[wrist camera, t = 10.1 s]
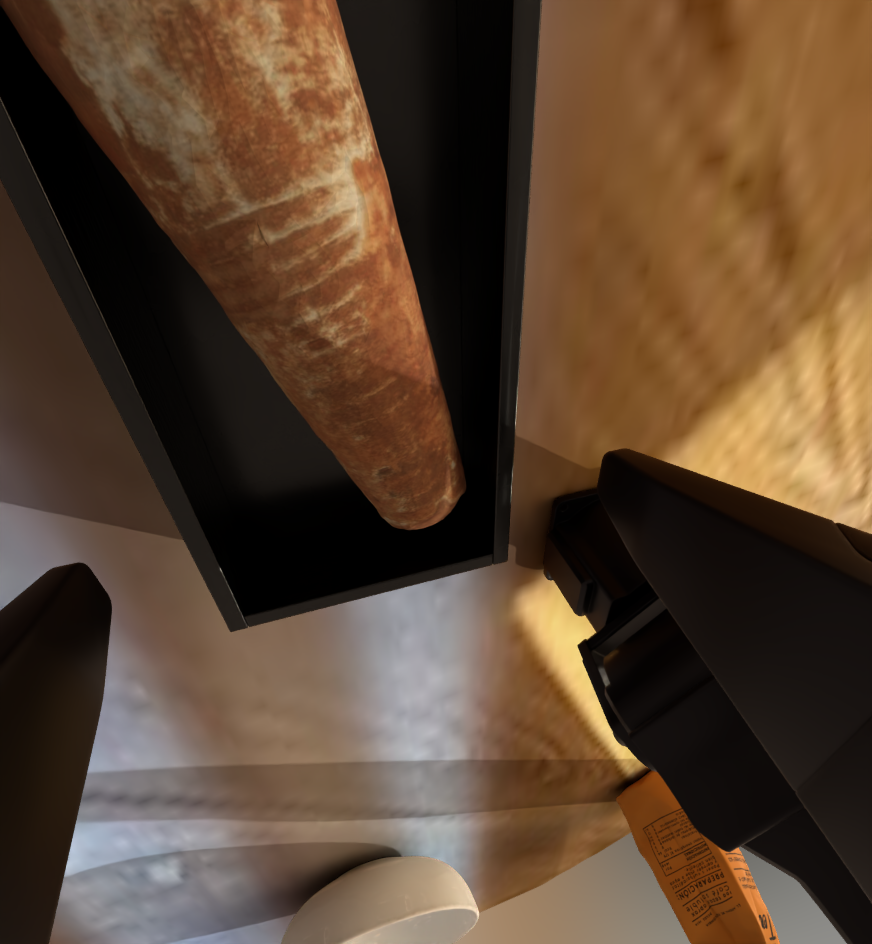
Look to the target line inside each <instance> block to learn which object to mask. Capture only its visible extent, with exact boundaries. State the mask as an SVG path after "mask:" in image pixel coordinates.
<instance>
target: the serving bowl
mask: <svg viewBox="0 0 872 944" xmlns="http://www.w3.org/2000/svg"><path fill="white" fill-rule="evenodd" d="M478 918H479V911H478V908H477V906H476V903H475V901H474V898H473V896H472V894H471V892H470V890H469V888H468V886H467V884H466V883H465V881H464V880H463V878H462V877H461V876H460V875H459V874H458V873H457V872H456V871H455V870H454V869H453V868H452V867H450V866H449V865H448V864H446V863H444V862H442V861H440V860H437V859H434V858H430V857H423V856H407V857H387V858H381V859H377V860H374V861H370V862H367V863H365V864H362V865H360V866H357V867H355V868H353V869H351V870H349V871H348V872H346V873H344V874H343V875H341V876H340V877H338V878H337V879H336V880H334V881H333V882H331V883H329V884H328V885H327V886H325V887H324V888H322V889H321V890H319V891H318V892H317V893H316V894H314V895H313V896H312V897H311V898H310V899H309V900H308V901H307V902H306V903H305V904H304V905H303V906H302V907H301V908H300V910H299V911H298V912H297V913H296V915H295V916H294V918H293V919H292V921H291V923H290V924H289V926H288V928H287V930H286V932H285V934H284V937H283V939H282V942H281V944H454V943H455V942H456V941H458V940H459V939H460V938H462V937H463V936H464V935H465V934H466V933H468V932H469V931H470V930H471V929H472V928H473V927H474V925H475V924H476V922H477V920H478Z"/></svg>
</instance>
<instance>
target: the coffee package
mask: <svg viewBox="0 0 872 944" xmlns="http://www.w3.org/2000/svg"><path fill="white" fill-rule="evenodd" d="M616 800H617V802H618V804H619V805H620V807H621V809H622V811H623V813H624V815H625V817H626V819H627V821H628V824H629V827H630V829H631V832H632V835H633V838H634V840H635V843H636V845H637V847H638V850H639V852H640V853H641V855H642V856H643V857H644V858H645V860H646V861H647V863H648V864H649V866H650V867H651V869H652V871H653V873H654V875H655V877H656V879H657V881H658V883H659V885H660V887H661V889H662V891H663V892H664V894H665V896H666V898H667V899H668V901H669V903H670V905H671V907H672V909H673V911H674V913H675V914H676V916H677V918H678V920H679V922H680V924H681V926H682V928H683V929H684V932H685V933H686V935H687V937H688V939H689V941H690V943H691V944H780V942H779V939H778V936H777V933H776V930H775V927H774V925H773V922H772V920H771V917H770V915H769V913H768V910H767V907H766V906H765V904H764V902H763V901H762V899H761V896H760V894H759V892H758V889H757V887H756V885H755V883H754V881H753V878H752V876H751V873H750V871H749V868H748V866H747V864H746V862H745V860H744V857H743V855H742V853H741V851H740V850H739V848H737V849H735V850H733V851H732V852H726V851H724V850H722V849H721V848H719V847H718V846H717V845H715V844H714V843H713V842H711V841H710V840H709V839H707V838H706V837H705V836H703V835H702V834H701V833H699V832H698V831H697V830H696V829H695V828H694V826H693V825H692V823H691V822H690V820H689V819H688V817H687V815H686V814H685V812H684V811H683V809H682V808H681V806H680V805H679V803H678V801H677V800H676V798H675V797H674V795H673V794H672V792H671V791H670V789H669V788H668V786H667V785H666V783H665V782H664V780H663V779H662V778H661V776H660V775H659V774H658V772H655V771H652V770H651V771H650V772H649V773H647V774H646V775H645V776H644V777H642V778H641V779H640V780H638V781H637V782H635V783H634V784H632V785H630V786H629V787H627V788H626V789H625V790H624V791H623V793H622V794H621V795H619V796H618V797H616Z"/></svg>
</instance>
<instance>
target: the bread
mask: <svg viewBox="0 0 872 944" xmlns="http://www.w3.org/2000/svg"><path fill="white" fill-rule="evenodd" d="M0 6H1V7H2V9H3V10H4V11H5V13H6V14H7V16H8V17H9V19H10V20H11V22H12V23H13V25H14V26H15V28H16V30H17V31H18V33H19V35H20V36H21V38H22V40H23V41H24V43H25V45H26V46H27V48H28V49H29V51H30V52H31V54H32V55H33V56H34V58H35V59H36V61H37V62H38V64H39V65H40V67H41V68H42V69H43V71H44V72H45V73H46V75H47V76H48V77H49V78H50V80H51V81H52V82H53V84H54V85H55V86H56V88H57V89H58V90H59V92H60V93H61V94H62V96H63V97H64V98H65V100H66V101H67V102H68V104H69V105H70V106H71V108H72V109H73V110H74V112H75V114H76V116H77V118H78V119H79V120H80V122H81V123H82V124H83V126H84V127H85V128H86V130H87V131H88V132H89V134H90V135H91V136H92V138H93V139H94V140H95V142H96V143H97V144H98V146H99V147H100V148H101V149H102V150H103V152H104V153H105V154H106V155H107V157H108V158H109V159H110V160H111V162H112V163H113V164H114V165H115V167H116V168H117V169H118V170H119V172H120V173H121V174H122V176H123V177H124V178H125V179H126V181H127V182H128V183H129V185H130V186H131V187H132V189H133V190H134V192H135V193H136V194H137V196H138V197H139V199H140V200H141V201H142V203H143V204H144V205H145V207H146V208H147V209H148V211H149V212H150V213H151V215H152V217H153V218H154V220H155V221H156V223H157V224H158V225H159V226H160V228H161V229H162V230H163V231H164V232H165V233H166V234H167V235H168V236H169V237H170V238H171V240H172V242H173V244H174V245H175V246H176V247H177V249H178V250H179V251H180V252H181V253H182V255H183V256H184V257H185V259H186V260H187V261H188V262H189V264H190V265H191V266H192V267H193V268H194V269H195V270H196V271H197V273H198V274H199V275H200V277H201V278H202V279H203V281H204V282H205V284H206V285H207V286H208V288H209V289H210V291H211V292H212V293H213V295H214V296H215V298H216V299H217V300H218V302H219V303H220V305H221V306H222V308H223V310H224V311H225V313H226V314H227V316H228V318H229V319H230V321H231V322H232V324H233V325H234V326H235V328H236V329H237V330H238V332H239V333H240V334H241V336H242V337H243V338H244V339H245V341H246V342H247V343H248V344H249V346H250V347H251V348H252V349H253V350H254V351H255V353H256V354H257V355H258V357H259V358H260V359H261V361H262V362H263V363H264V364H265V366H266V367H267V368H268V370H269V372H270V373H271V375H272V377H273V378H274V380H275V381H276V382H277V384H278V385H279V386H280V388H281V389H282V391H283V392H284V393H285V395H286V396H287V397H288V398H289V400H290V401H291V402H292V403H293V405H294V406H295V407H296V408H297V410H298V411H299V412H300V414H301V415H302V416H303V417H304V419H305V420H306V421H307V423H308V424H309V425H310V427H311V428H312V430H313V431H314V432H315V434H316V435H317V436H318V437H319V438H320V439H321V440H322V441H323V442H324V443H325V445H326V446H327V447H328V448H329V449H330V450H331V451H332V453H333V454H334V455H335V457H336V458H337V460H338V461H339V463H340V464H341V465H342V466H343V468H344V469H345V471H346V472H347V473H348V475H349V476H350V477H351V479H352V480H353V481H354V482H355V484H356V485H357V486H358V487H359V488H360V489H361V491H362V492H363V493H364V495H365V496H366V497H367V498H368V500H369V501H370V502H371V503H372V504H373V505H374V506H375V508H376V509H377V511H378V513H379V514H380V516H381V517H382V518H383V519H385V520H386V521H387V522H388V523H389V524H390V525H391V526H393V527H395V528H399V529H406V530H416V529H422V528H426V527H429V526H432V525H434V524H436V523H437V522H439V521H441V520H442V519H444V518H445V517H446V516H447V515H448V514H449V513H450V512H451V511H452V509H453V508H454V507H455V506H456V504H457V501H458V500H459V498H460V497H461V495H462V494H464V493H465V491H466V487H467V485H466V480H465V474H464V467H463V464H462V460H461V457H460V453H459V449H458V446H457V442H456V438H455V435H454V431H453V427H452V422H451V416H450V412H449V409H448V405H447V402H446V398H445V394H444V391H443V387H442V383H441V380H440V376H439V372H438V367H437V363H436V360H435V356H434V353H433V349H432V345H431V342H430V338H429V335H428V331H427V327H426V324H425V320H424V317H423V313H422V309H421V305H420V301H419V297H418V293H417V289H416V285H415V282H414V278H413V275H412V271H411V268H410V264H409V261H408V257H407V254H406V251H405V247H404V244H403V240H402V237H401V234H400V230H399V227H398V222H397V218H396V214H395V209H394V205H393V201H392V196H391V192H390V188H389V184H388V180H387V176H386V172H385V169H384V166H383V163H382V160H381V156H380V153H379V150H378V146H377V142H376V139H375V135H374V131H373V128H372V124H371V120H370V117H369V113H368V110H367V106H366V103H365V100H364V96H363V93H362V90H361V86H360V83H359V80H358V76H357V73H356V69H355V66H354V63H353V59H352V56H351V52H350V49H349V45H348V42H347V38H346V35H345V31H344V27H343V24H342V20H341V16H340V12H339V9H338V5H337V2H336V0H0Z"/></svg>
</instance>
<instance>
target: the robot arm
mask: <svg viewBox="0 0 872 944" xmlns="http://www.w3.org/2000/svg"><path fill="white" fill-rule="evenodd" d="M543 564H544V575H545V577H546V578H547V579H548V580H554V581H555V583H556V585H557V586H558V588H559V589H560V591H561V592H562V594H563V596H564V597H565V599H566V600H567V602H568V603H569V605H570V607H571V608H572V610H573V611H574V613H575V614H576V615H578V616H584V615H585V616H586V617H587V619H588V620H589V622H590V623H591V625H592V626H593V628H594V629H595V631H596V633H595V634H594V635H593V636H591V637H590V638H589V639H588V640H587V639H585V640H583V641H582V642H581V643H580V644H578V648H579V651H580V653H581V656H582V658H583V660H582V661H583V664H584V666H585V668H586V671H587V673H588V676H589V678H590V680H591V683H592V685H593V688H594V690H595V692H596V695H597V697H598V700H599V702H600V704H601V707H602V709H603V712H604V714H605V716H606V719H607V721H608V724H609V726H610V728H611V729H612V731H613V735H614V737H615V739H616V740H617V741H618V743H619V744H621V745H623V746H625V747H627V748H628V749H629V750H630V751H631V752H632V753H633V754H634V756H635V757H636V758H637V759H638V760H639V761H640V762H642V763H643V764H644V765H645V766H646V767H648V768H649V769H650V770H652V771H655V772H658V774H659V775H660V776H661V778H662V779H663V780H664V782H665V783H666V785H667V786H668V788H669V789H670V791H671V792H672V794H673V795H674V797H675V798H676V800H677V801H678V803H679V805H680V806H681V808H682V809H683V811H684V812H685V814H686V815H687V817H688V819H689V820H690V822H691V823H692V825H693V826H694V828H695V829H696V830H697V831H698V832H699V833H701V834H702V835H703V836H705V837H706V838H707V839H709V840H710V841H711V842H713V843H714V844H715V845H717V846H718V847H719V848H721V849H722V850H724V851H726V852H732V851H733V850H735V849H737V848H738V847H740V846H741V847H742V848H744V849H746V850H747V851H749V852H751V853H752V854H754V855H756V856H758V857H759V858H761V859H763V860H764V861H766V862H768V863H769V864H771V865H773V866H774V867H776V868H778V869H779V870H781V871H783V872H784V873H786V874H788V875H789V876H791V877H793V878H794V879H796V880H797V881H798V882H799V883H800V884H801V885H802V887H803V888H804V889H805V890H806V891H807V893H808V894H809V895H810V896H811V898H812V899H813V900H814V901H815V903H816V904H817V905H818V906H819V908H820V909H821V910H822V911H823V913H824V914H825V916H826V917H827V918H828V919H829V921H830V922H831V923H832V925H833V926H834V927H835V928H836V930H837V931H838V932H839V934H840V935H841V936H842V937H843V939H844V940H845V941H846V943H847V944H872V534H869V533H867V532H864V531H861V530H858V529H855V528H852V527H849V526H847V525H844V524H841V523H834V522H833V521H832V520H829V519H826V518H824V517H821V516H818V515H815V514H812V513H809V512H807V511H804V510H801V509H798V508H795V507H792V506H789V505H787V504H784V503H781V502H778V501H775V500H772V499H769V498H767V497H764V496H761V495H758V494H755V493H752V492H750V491H747V490H744V489H741V488H738V487H735V486H733V485H730V484H727V483H724V482H721V481H718V480H715V479H713V478H710V477H707V476H704V475H701V474H698V473H696V472H693V471H690V470H687V469H684V468H681V467H679V466H676V465H673V464H670V463H667V462H664V461H661V460H659V459H656V458H653V457H650V456H647V455H644V454H642V453H639V452H636V451H633V450H630V449H619V450H614V451H609V452H607V453H606V454H605V455H604V456H603V459H602V464H601V469H600V474H599V478H598V483H597V488H596V489H592V490H587V491H583V492H579V493H574V494H570V495H566V496H562V497H559V498H557V499H556V500H555V501H554V502H553V504H552V511H551V518H550V526H549V532H548V534H547V537H546V545H545V553H544V561H543ZM111 615H112V604H111V600H110V597H109V595H108V594H107V592H106V591H105V589H104V588H103V586H102V585H101V583H100V582H99V581H98V579H97V578H96V576H95V575H94V573H93V572H92V570H91V569H90V568H89V567H88V566H87V565H86V564H84V563H73V564H68V565H64V566H59V567H55V568H52V569H50V570H49V571H47V572H46V573H45V574H44V575H42V576H41V577H40V578H39V579H38V580H37V581H35V582H34V583H33V584H32V585H31V586H29V587H28V588H27V589H26V590H25V591H23V592H22V593H21V594H20V595H19V596H17V597H16V598H15V599H14V600H13V601H11V602H10V603H9V604H8V605H7V606H5V607H4V608H3V609H2V610H1V611H0V944H49V941H50V936H51V932H52V927H53V923H54V918H55V914H56V909H57V905H58V900H59V896H60V892H61V887H62V883H63V878H64V874H65V869H66V865H67V860H68V856H69V851H70V847H71V842H72V838H73V833H74V829H75V824H76V820H77V815H78V811H79V806H80V802H81V797H82V793H83V788H84V784H85V780H86V775H87V771H88V766H89V762H90V757H91V753H92V748H93V744H94V739H95V735H96V730H97V726H98V721H99V717H100V712H101V706H102V701H103V694H104V686H105V676H106V666H107V656H108V646H109V635H110V625H111Z"/></svg>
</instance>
